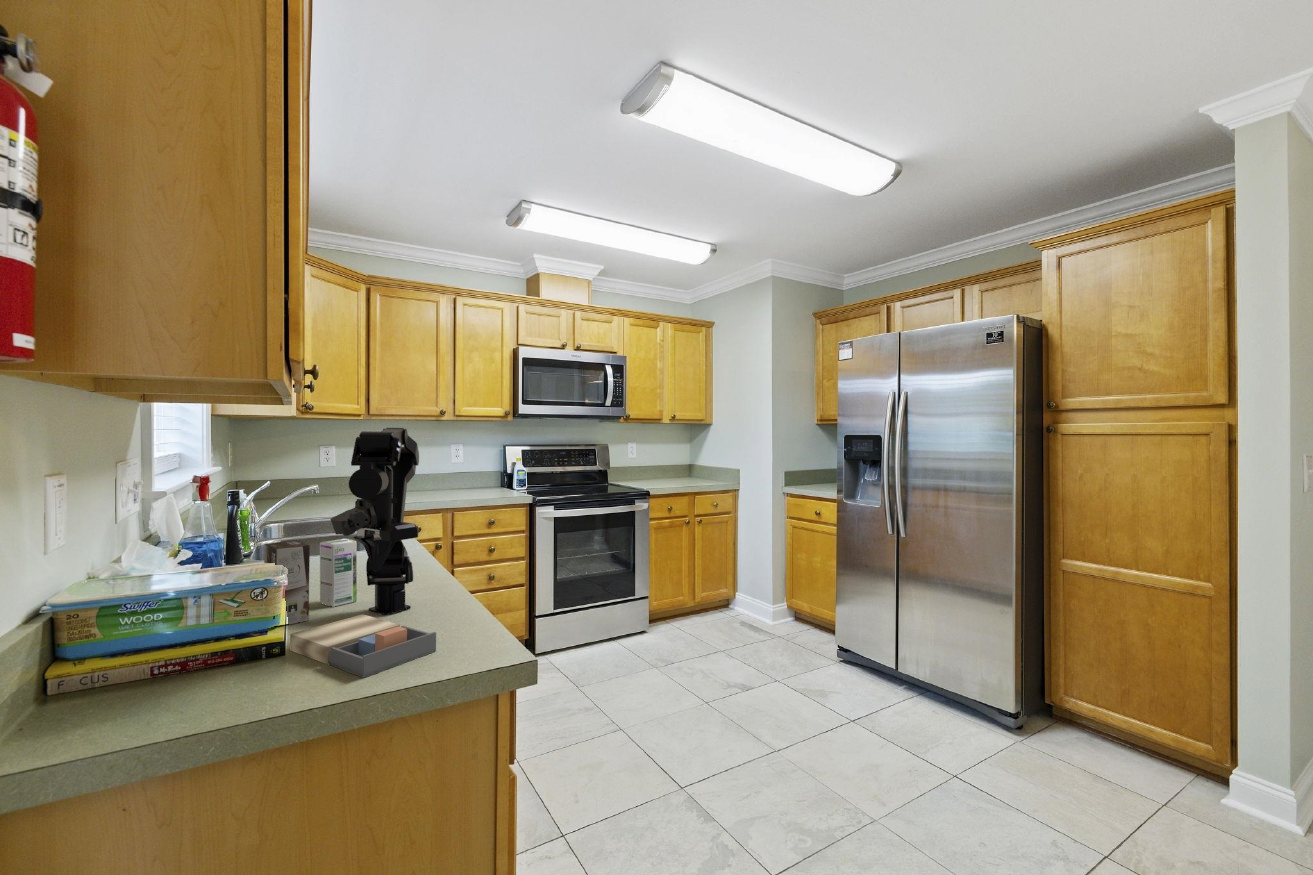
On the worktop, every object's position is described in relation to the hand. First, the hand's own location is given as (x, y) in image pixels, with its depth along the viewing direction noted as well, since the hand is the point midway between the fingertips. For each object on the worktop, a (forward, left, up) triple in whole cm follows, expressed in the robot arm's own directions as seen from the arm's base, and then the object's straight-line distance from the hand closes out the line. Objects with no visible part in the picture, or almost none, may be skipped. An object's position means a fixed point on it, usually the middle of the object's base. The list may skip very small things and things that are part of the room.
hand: (376, 570), depth 119 cm
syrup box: (-25, +7, -12) cm, 29 cm away
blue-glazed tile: (+12, -8, -11) cm, 18 cm away
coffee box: (-22, -6, -12) cm, 26 cm away
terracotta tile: (+15, -8, -9) cm, 19 cm away
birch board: (+3, -8, -12) cm, 15 cm away
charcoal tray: (+14, -8, -12) cm, 20 cm away
